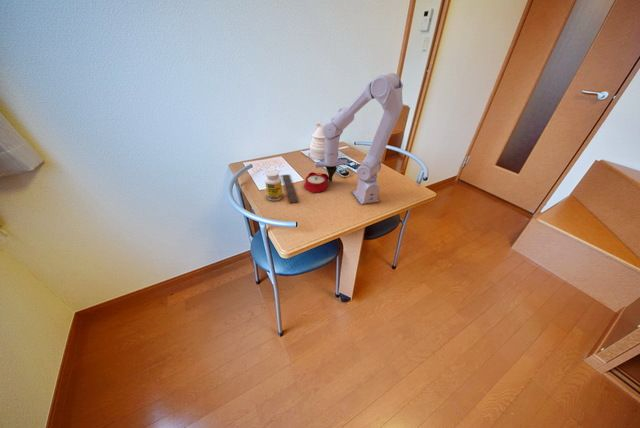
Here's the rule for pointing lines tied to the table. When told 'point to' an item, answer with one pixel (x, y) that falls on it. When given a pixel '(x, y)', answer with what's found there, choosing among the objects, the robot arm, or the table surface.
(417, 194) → the table surface
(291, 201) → the ruler
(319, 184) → the alarm clock
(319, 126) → the honey pot
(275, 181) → the pill bottle
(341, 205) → the table surface
